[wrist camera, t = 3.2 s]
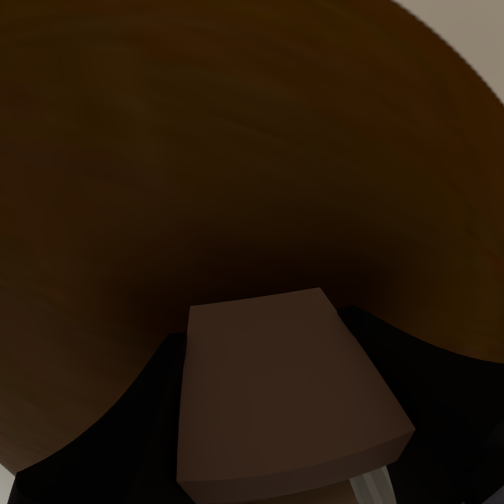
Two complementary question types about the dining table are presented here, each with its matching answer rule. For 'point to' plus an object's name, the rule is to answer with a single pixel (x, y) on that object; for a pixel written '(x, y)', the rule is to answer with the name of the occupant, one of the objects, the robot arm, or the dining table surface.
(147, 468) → the robot arm
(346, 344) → the domino
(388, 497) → the domino
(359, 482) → the domino
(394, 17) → the dining table surface
